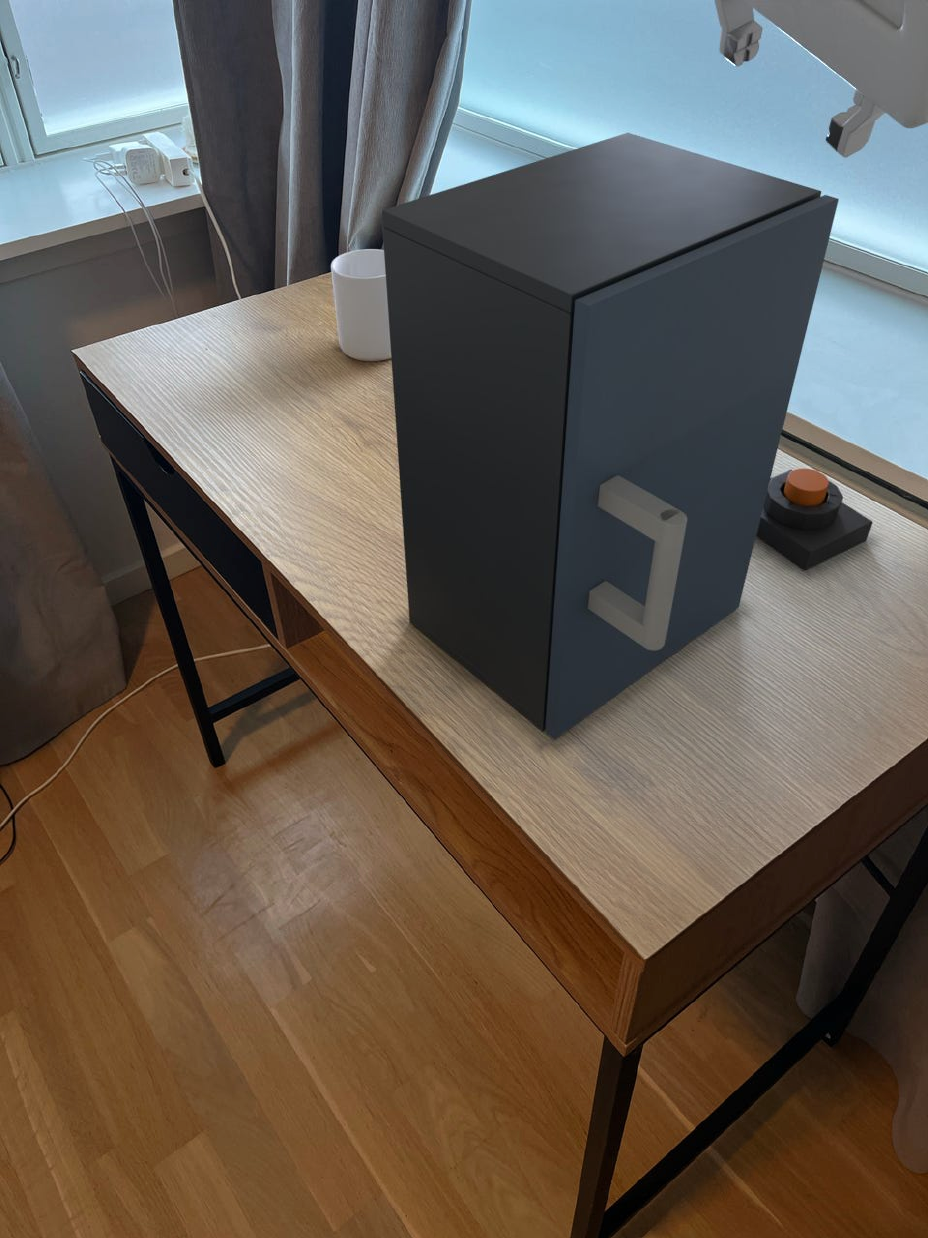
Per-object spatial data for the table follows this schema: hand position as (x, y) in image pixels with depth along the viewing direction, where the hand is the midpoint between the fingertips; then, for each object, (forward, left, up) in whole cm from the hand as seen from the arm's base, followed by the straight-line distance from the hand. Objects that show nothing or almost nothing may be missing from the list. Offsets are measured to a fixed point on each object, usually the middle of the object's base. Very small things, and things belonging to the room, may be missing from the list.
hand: (789, 99), depth 55 cm
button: (-8, -15, -36) cm, 39 cm away
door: (-1, +9, -39) cm, 40 cm away
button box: (-8, -15, -39) cm, 43 cm away
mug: (+45, -37, -40) cm, 70 cm away
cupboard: (+9, +3, -39) cm, 41 cm away
